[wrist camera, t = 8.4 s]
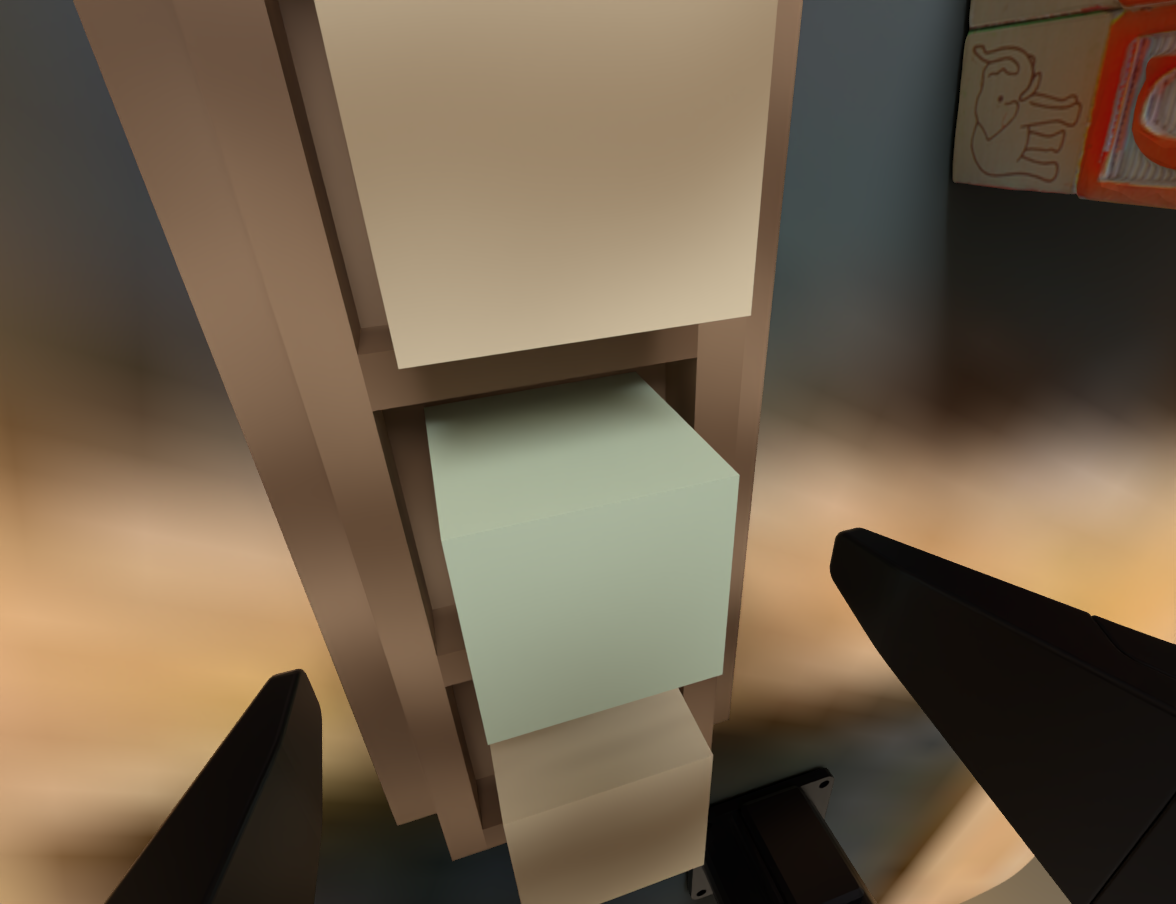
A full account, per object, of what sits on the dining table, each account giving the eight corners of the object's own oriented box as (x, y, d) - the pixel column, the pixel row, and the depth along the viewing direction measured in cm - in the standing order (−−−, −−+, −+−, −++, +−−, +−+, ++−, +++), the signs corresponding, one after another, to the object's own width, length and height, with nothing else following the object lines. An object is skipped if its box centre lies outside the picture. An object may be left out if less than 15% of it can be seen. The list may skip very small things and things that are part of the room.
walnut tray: (715, 695, 21) (751, 759, 19) (397, 793, 18) (398, 879, 16) (785, -162, 10) (891, -239, 8) (24, -200, 8) (-116, -325, 5)
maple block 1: (631, 253, 12) (750, 315, 8) (394, 281, 10) (399, 369, 7) (626, -43, 9) (791, -157, 5) (324, -43, 8) (271, -184, 4)
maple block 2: (639, 713, 18) (703, 864, 15) (497, 757, 17) (527, 931, 14) (637, 608, 16) (713, 755, 12) (474, 651, 15) (503, 825, 11)
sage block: (638, 536, 15) (722, 674, 11) (460, 578, 14) (487, 745, 10) (635, 371, 13) (739, 474, 9) (423, 407, 12) (441, 540, 8)
